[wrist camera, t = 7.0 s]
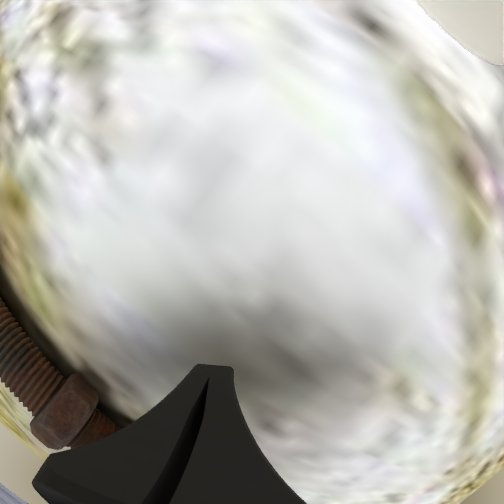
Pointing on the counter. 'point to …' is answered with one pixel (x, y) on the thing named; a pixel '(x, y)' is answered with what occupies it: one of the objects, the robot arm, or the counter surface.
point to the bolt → (49, 392)
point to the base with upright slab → (471, 25)
